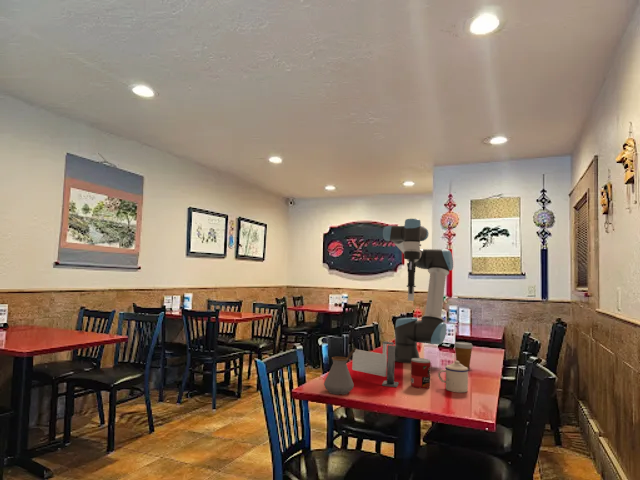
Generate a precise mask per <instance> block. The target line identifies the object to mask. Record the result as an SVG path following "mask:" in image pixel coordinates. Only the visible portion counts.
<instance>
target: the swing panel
mask: <svg viewBox="0 0 640 480" xmlns="http://www.w3.org/2000/svg"><path fill="white" fill-rule="evenodd" d="M388 345H392V346H394V345H395V342H393V341H385V340H384V341H382V353H380V352H374V351H367V350H362V349H358V348H356V350H355V352H354V353H353V355H352V366H351V369H352V371H356V372H361V373H366V374H370V375H374V376H375V375H376V376H380V377H384V378H385V377H387V358H388ZM357 349H358V350H357Z"/></svg>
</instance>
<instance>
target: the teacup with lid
mask: <svg viewBox="0 0 640 480" xmlns="http://www.w3.org/2000/svg"><path fill="white" fill-rule="evenodd" d="M459 363H460V362H459V361H456V360H454V362H453V363H451V364H448V365H446V366H445V369H441V370H439V371H438V375H437V376H438V379H439V381H441V383H445V390H446V391H449V392H454V393H460V394H462V393H467V392H468V389H469V385H468V384H469V381H468V380H469V375H468V374H469V367H465V366H463V365H462V364H459ZM441 373H445V380H444V379H443V378H442V377H441Z"/></svg>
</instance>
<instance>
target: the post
mask: <svg viewBox="0 0 640 480" xmlns="http://www.w3.org/2000/svg"><path fill="white" fill-rule="evenodd" d="M395 363H396V361H395V345H389V344H387V368H386V380H383V382H382V383H381V386H382V387H393V388H397V387H398V386H399V383H400V382H399V381H395V365H396V364H395Z"/></svg>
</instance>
